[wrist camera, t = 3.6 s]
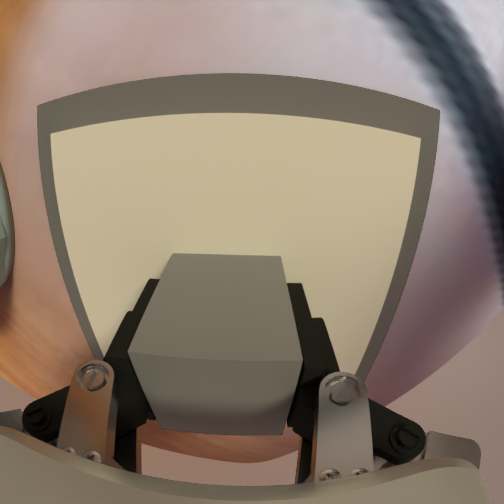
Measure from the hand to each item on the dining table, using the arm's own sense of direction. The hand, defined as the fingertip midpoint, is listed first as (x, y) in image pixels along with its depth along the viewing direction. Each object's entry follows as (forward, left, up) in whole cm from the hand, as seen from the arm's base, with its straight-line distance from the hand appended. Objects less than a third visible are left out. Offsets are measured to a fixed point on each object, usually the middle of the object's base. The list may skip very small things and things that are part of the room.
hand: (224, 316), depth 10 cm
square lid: (0, 0, -2) cm, 2 cm away
